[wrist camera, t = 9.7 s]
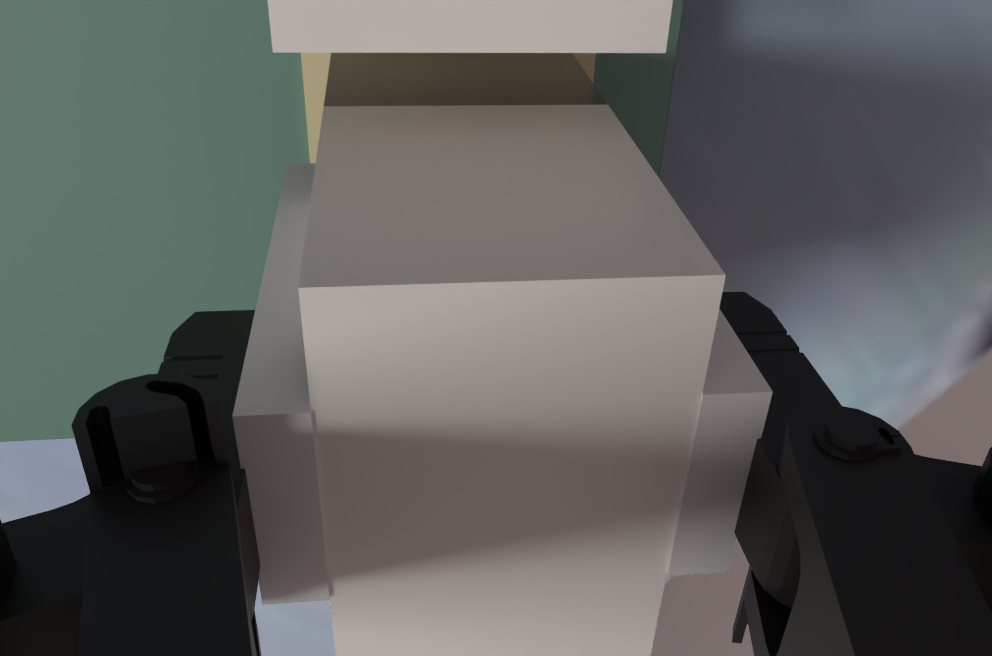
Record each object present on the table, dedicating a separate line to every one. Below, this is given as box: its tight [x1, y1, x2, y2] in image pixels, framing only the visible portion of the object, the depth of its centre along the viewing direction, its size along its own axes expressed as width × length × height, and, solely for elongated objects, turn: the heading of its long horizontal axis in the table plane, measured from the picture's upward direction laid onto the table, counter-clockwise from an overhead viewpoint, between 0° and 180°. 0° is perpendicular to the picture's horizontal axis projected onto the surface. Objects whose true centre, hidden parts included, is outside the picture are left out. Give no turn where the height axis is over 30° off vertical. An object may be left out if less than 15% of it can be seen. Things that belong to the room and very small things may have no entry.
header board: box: [0, 0, 684, 442], centre depth 13 cm, size 17×14×6 cm
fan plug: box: [298, 53, 726, 656], centre depth 13 cm, size 6×4×8 cm, turn 178°
